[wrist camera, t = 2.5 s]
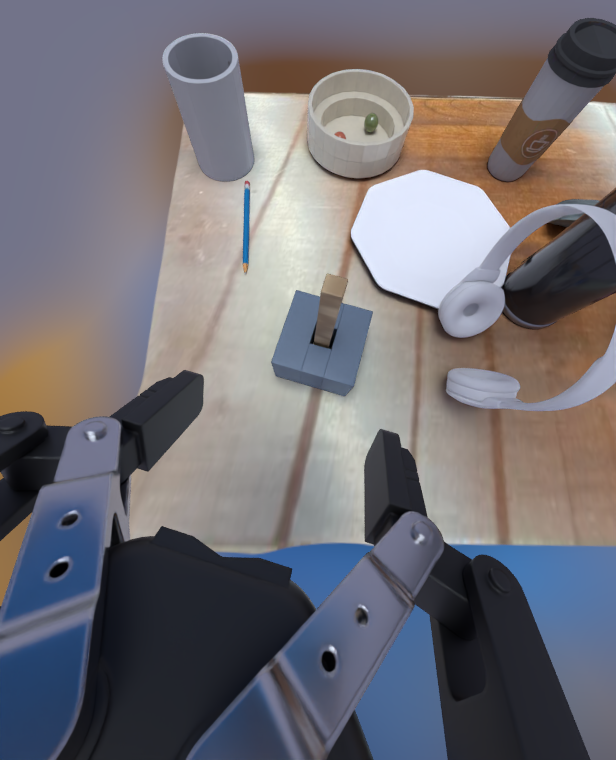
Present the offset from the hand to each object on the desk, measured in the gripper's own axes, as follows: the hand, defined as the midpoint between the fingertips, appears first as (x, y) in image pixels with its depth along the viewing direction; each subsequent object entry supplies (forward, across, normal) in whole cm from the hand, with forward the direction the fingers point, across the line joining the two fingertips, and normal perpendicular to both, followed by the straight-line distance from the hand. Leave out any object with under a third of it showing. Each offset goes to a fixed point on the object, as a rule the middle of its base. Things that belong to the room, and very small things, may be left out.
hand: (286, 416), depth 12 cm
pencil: (+36, +17, -4) cm, 40 cm away
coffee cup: (+54, -21, -22) cm, 62 cm away
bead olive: (+52, +3, -23) cm, 57 cm away
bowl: (+51, +5, -20) cm, 55 cm away
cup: (+44, +24, -12) cm, 52 cm away
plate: (+40, -11, -8) cm, 43 cm away
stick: (+24, 0, +8) cm, 25 cm away
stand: (+24, 0, +8) cm, 25 cm away
